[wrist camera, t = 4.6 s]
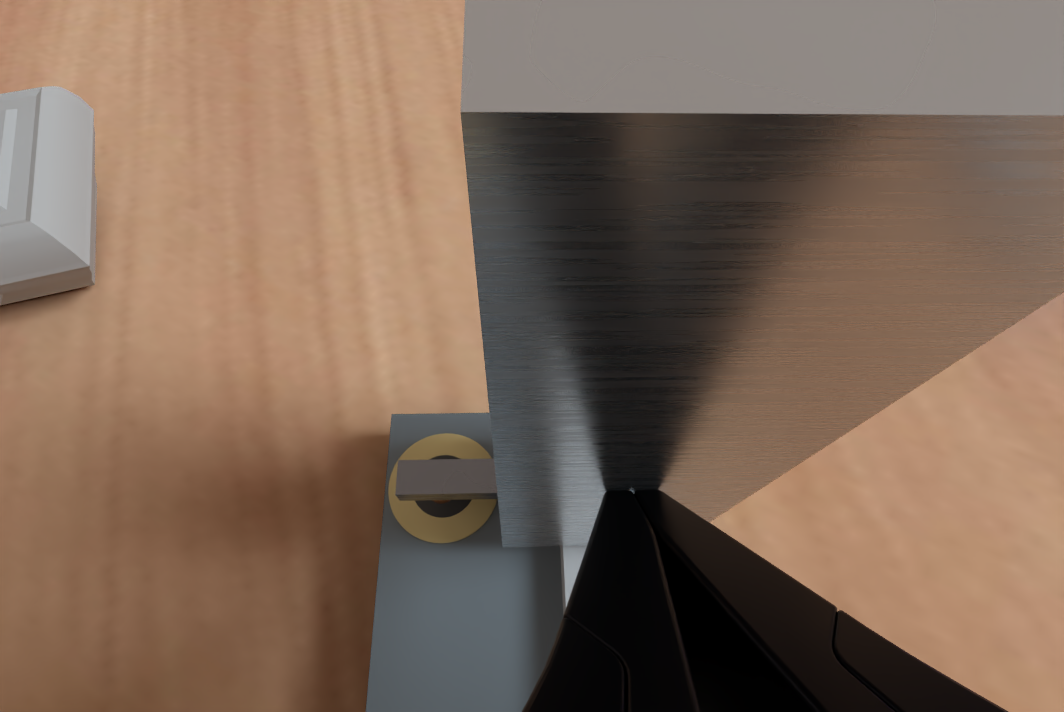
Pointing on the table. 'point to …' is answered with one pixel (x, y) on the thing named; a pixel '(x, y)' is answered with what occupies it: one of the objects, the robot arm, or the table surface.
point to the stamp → (46, 193)
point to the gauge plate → (459, 589)
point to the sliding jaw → (738, 232)
